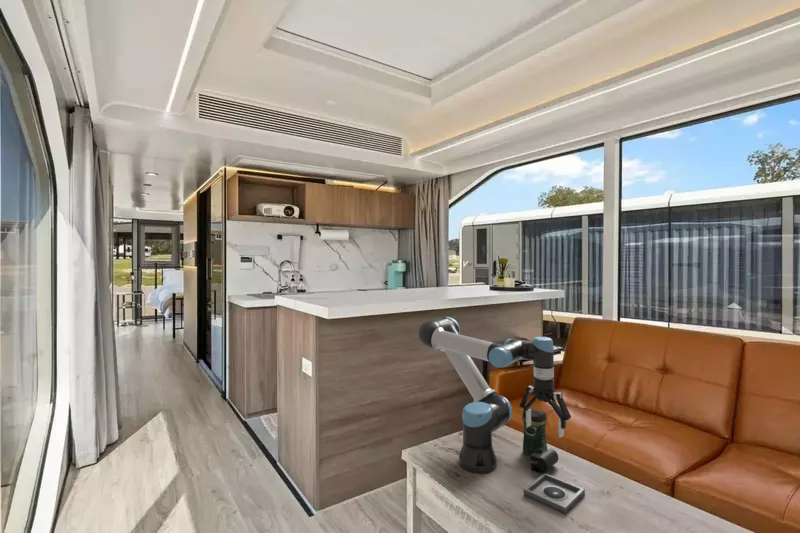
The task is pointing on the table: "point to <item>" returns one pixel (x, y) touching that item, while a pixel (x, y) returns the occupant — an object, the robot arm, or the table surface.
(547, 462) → the end cap
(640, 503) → the table surface
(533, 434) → the coffee jar
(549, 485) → the grey square tray
